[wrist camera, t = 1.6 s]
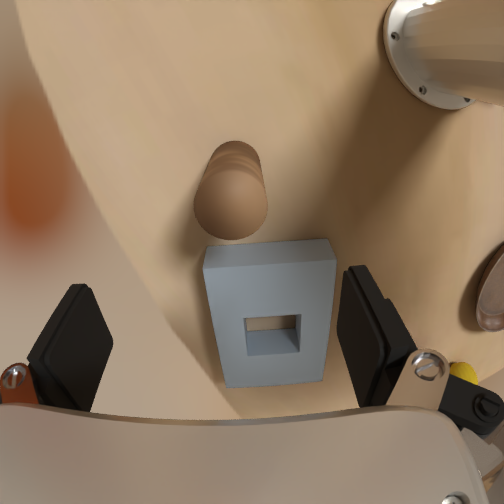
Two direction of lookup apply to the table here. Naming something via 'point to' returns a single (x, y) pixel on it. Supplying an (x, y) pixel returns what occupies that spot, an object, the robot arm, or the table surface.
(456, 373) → the lemon
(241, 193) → the walnut peg
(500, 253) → the plant saucer
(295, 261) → the hole board
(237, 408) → the table surface
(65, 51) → the table surface
